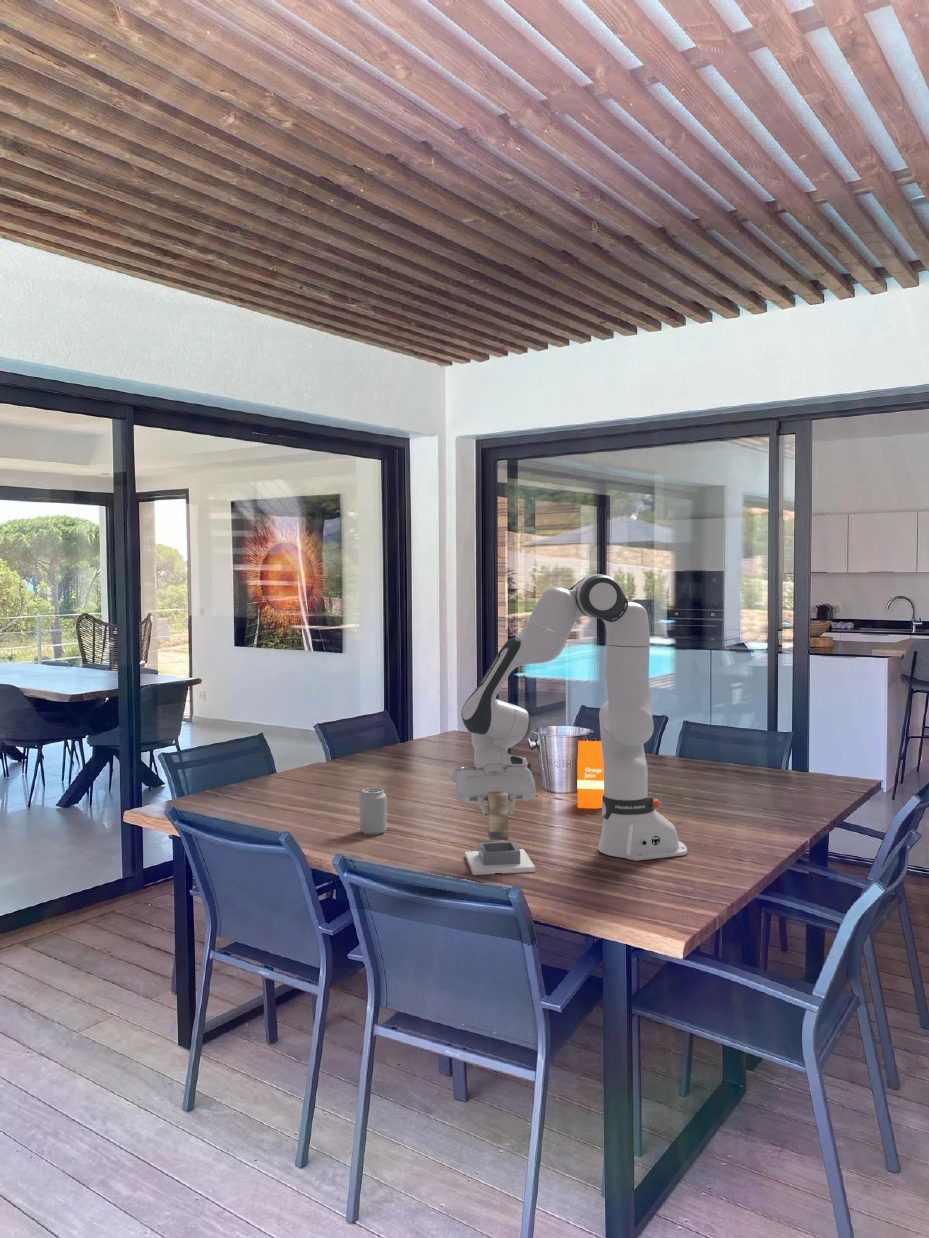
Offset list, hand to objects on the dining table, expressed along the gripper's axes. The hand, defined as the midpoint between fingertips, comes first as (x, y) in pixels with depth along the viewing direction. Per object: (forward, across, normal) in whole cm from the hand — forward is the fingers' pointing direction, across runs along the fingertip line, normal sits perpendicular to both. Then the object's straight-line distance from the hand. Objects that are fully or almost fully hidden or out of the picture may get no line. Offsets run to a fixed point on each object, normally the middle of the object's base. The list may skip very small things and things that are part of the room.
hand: (498, 814), depth 227 cm
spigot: (+4, 0, +5) cm, 6 cm away
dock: (+8, 0, +9) cm, 13 cm away
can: (-15, -30, +34) cm, 47 cm away
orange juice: (-30, +38, +47) cm, 68 cm away
